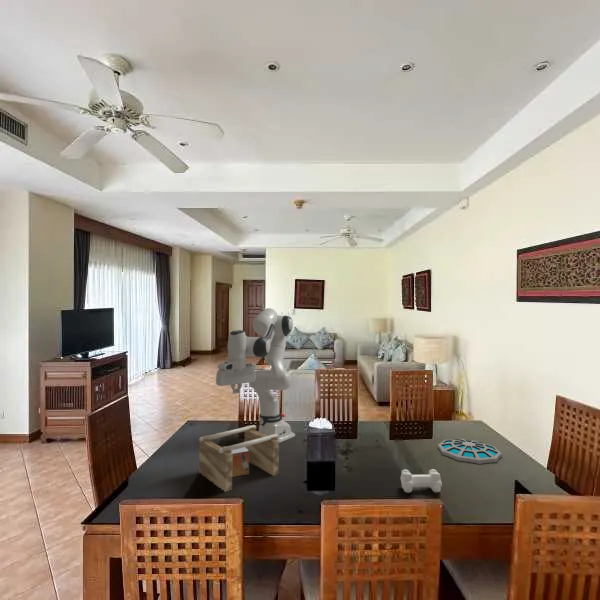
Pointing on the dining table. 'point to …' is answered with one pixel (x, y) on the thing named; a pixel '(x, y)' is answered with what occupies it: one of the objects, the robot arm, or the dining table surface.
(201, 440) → the pale rod
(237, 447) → the off-white rod
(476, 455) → the decorative platform
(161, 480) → the dining table surface
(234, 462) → the small box
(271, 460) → the rack
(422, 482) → the dog bone
